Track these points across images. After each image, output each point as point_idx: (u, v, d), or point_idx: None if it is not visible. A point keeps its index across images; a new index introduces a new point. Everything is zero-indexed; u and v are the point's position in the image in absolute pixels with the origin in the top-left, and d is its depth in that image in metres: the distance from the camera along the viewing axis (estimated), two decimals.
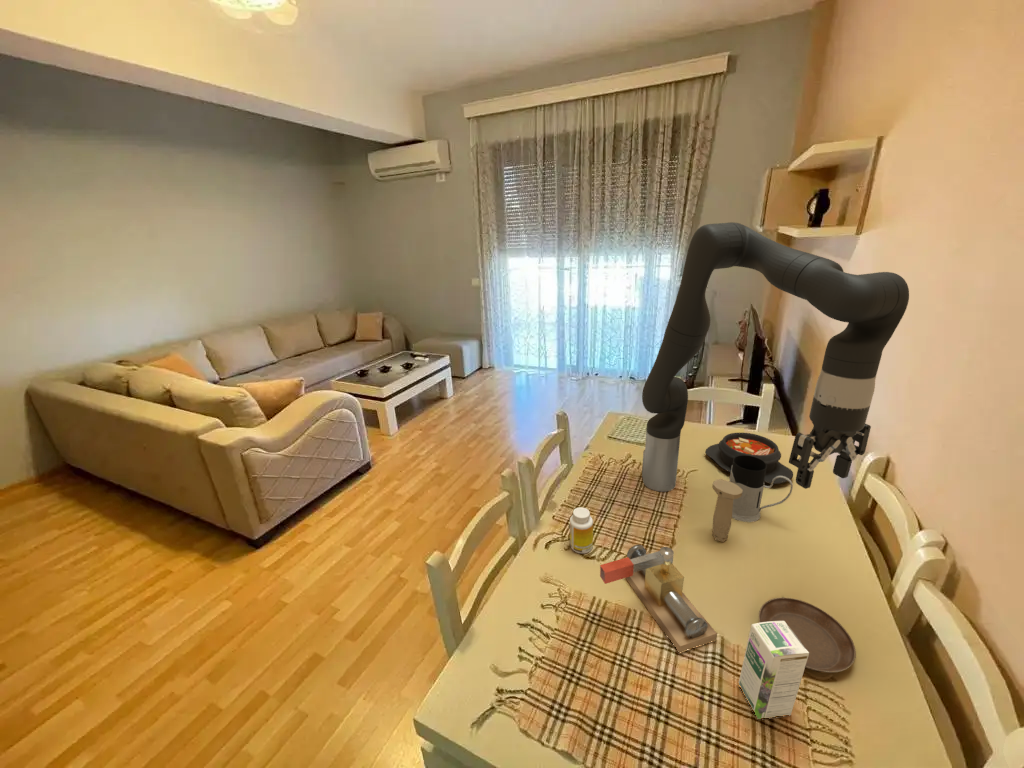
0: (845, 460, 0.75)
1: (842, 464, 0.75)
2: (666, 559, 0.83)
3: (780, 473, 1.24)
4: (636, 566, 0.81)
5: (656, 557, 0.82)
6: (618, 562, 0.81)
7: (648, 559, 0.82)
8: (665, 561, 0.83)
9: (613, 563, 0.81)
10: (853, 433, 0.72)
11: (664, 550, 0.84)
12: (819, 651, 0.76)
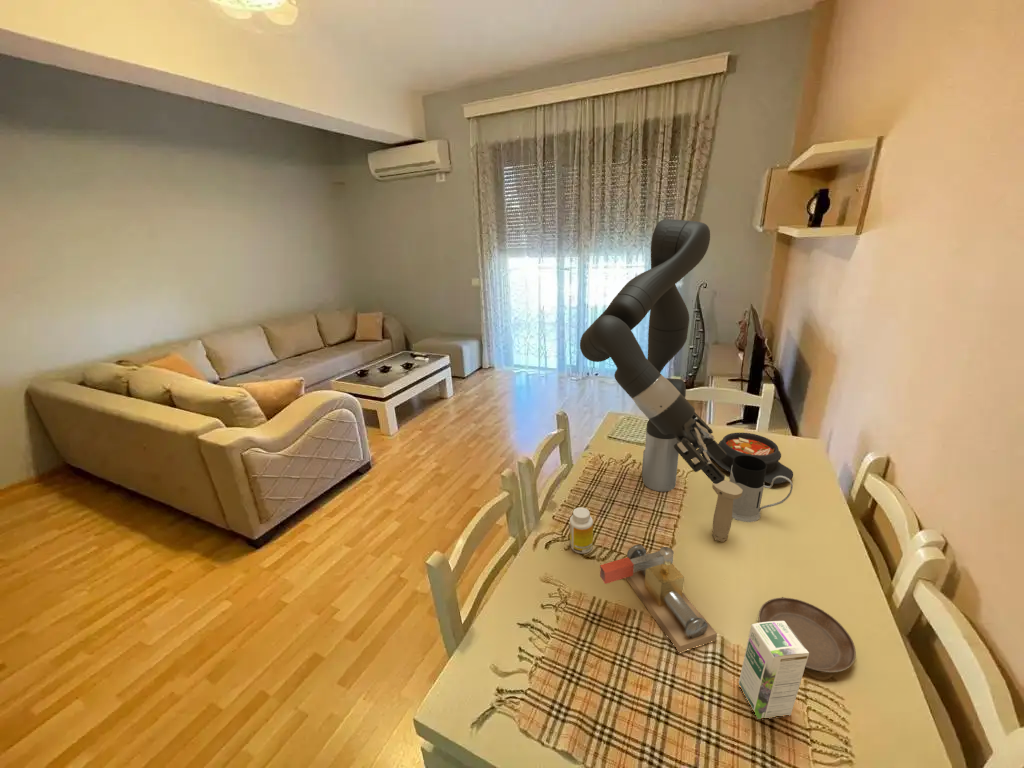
0: None
1: None
2: (666, 559, 0.83)
3: (780, 473, 1.24)
4: (636, 566, 0.81)
5: (656, 557, 0.82)
6: (618, 562, 0.81)
7: (648, 559, 0.82)
8: (665, 561, 0.83)
9: (613, 563, 0.81)
10: (679, 441, 0.77)
11: (664, 550, 0.84)
12: (819, 651, 0.76)
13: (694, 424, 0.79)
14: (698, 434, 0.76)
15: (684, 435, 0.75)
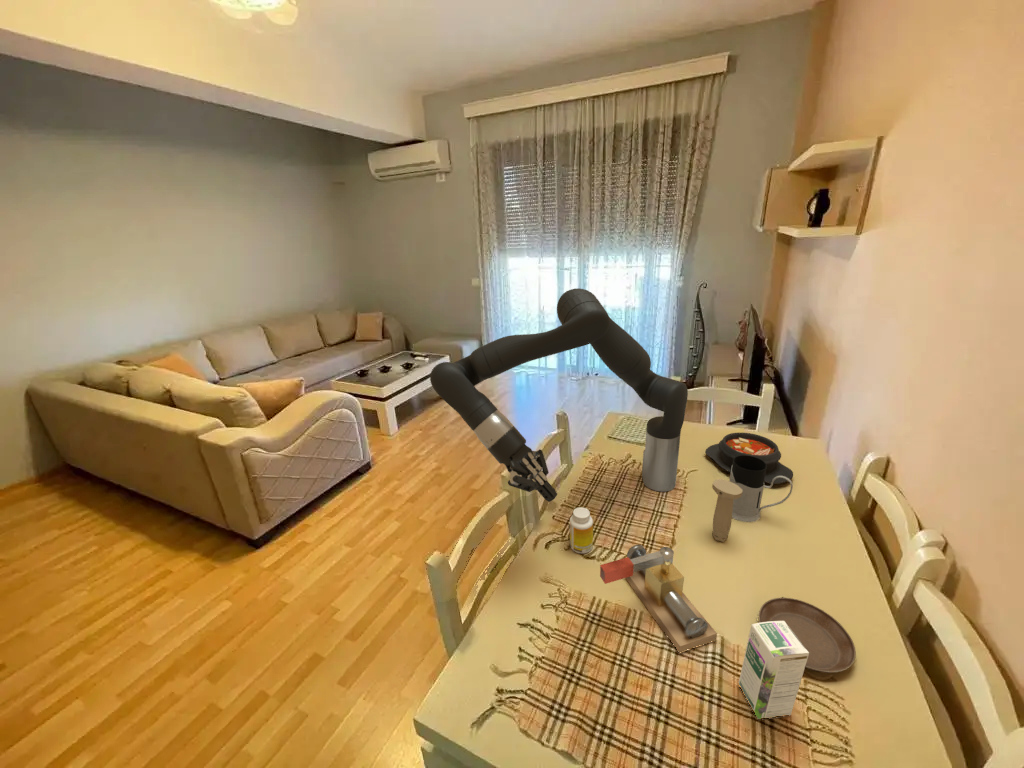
0: None
1: None
2: (666, 559, 0.83)
3: (780, 473, 1.24)
4: (636, 566, 0.81)
5: (656, 557, 0.82)
6: (618, 562, 0.81)
7: (648, 559, 0.82)
8: (665, 561, 0.83)
9: (613, 563, 0.81)
10: None
11: (664, 550, 0.84)
12: (819, 651, 0.76)
13: (527, 453, 0.90)
14: (527, 464, 0.87)
15: (513, 468, 0.86)
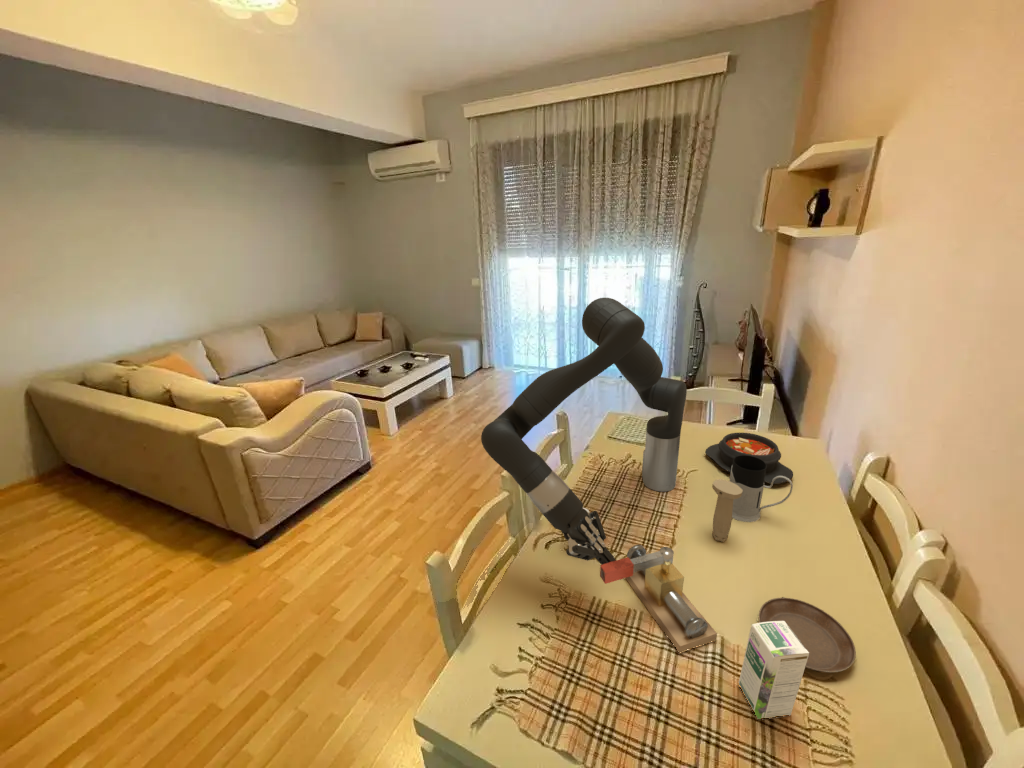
0: None
1: None
2: (666, 559, 0.83)
3: (780, 473, 1.24)
4: (636, 566, 0.81)
5: (656, 557, 0.82)
6: (618, 562, 0.81)
7: (648, 559, 0.82)
8: (665, 561, 0.83)
9: (613, 563, 0.81)
10: None
11: (664, 550, 0.84)
12: (818, 651, 0.76)
13: (584, 517, 0.84)
14: (585, 530, 0.82)
15: (571, 537, 0.80)
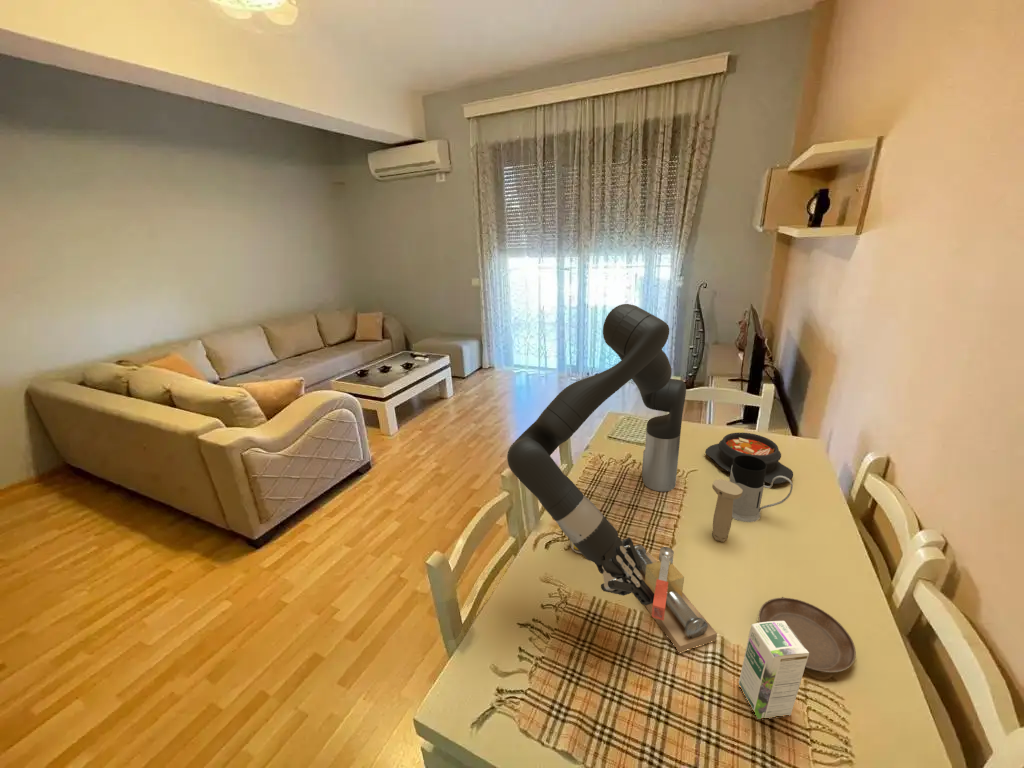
0: None
1: None
2: (671, 558, 0.83)
3: (780, 473, 1.24)
4: None
5: (668, 562, 0.81)
6: (658, 590, 0.75)
7: (667, 568, 0.80)
8: (670, 561, 0.83)
9: (657, 594, 0.74)
10: None
11: (664, 551, 0.83)
12: (818, 651, 0.76)
13: (618, 547, 0.76)
14: (621, 563, 0.74)
15: (606, 570, 0.73)
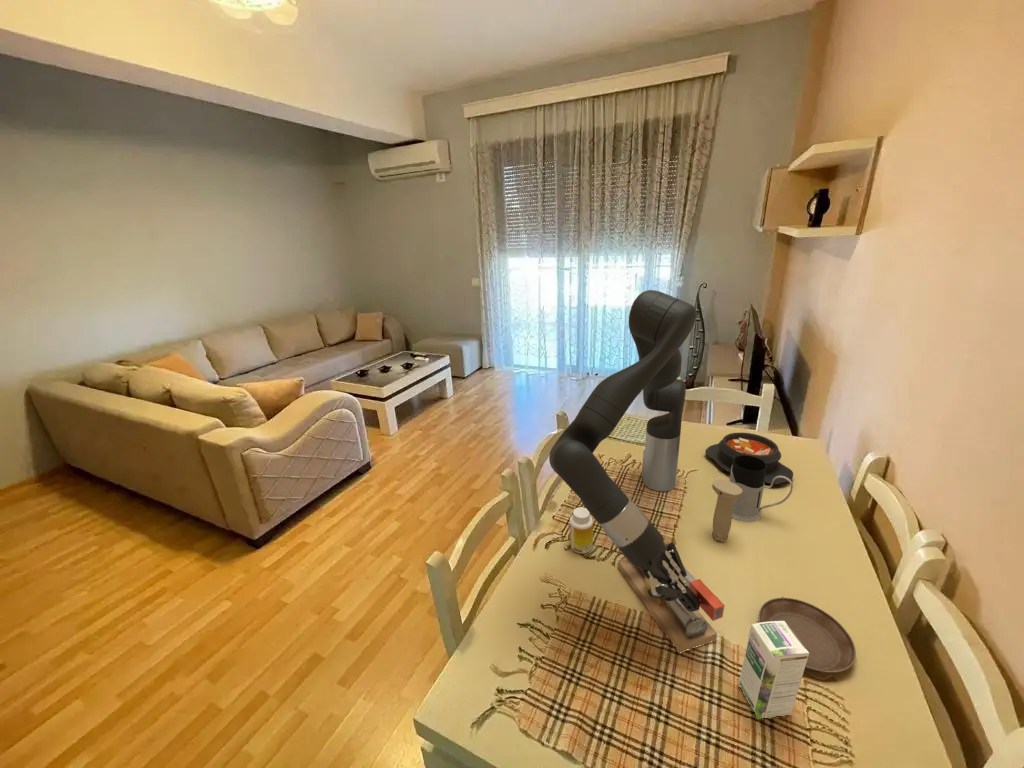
0: None
1: None
2: None
3: (780, 473, 1.24)
4: None
5: None
6: (702, 591, 0.74)
7: None
8: None
9: (706, 596, 0.73)
10: None
11: None
12: (818, 651, 0.76)
13: (663, 552, 0.75)
14: (667, 568, 0.72)
15: (653, 575, 0.71)
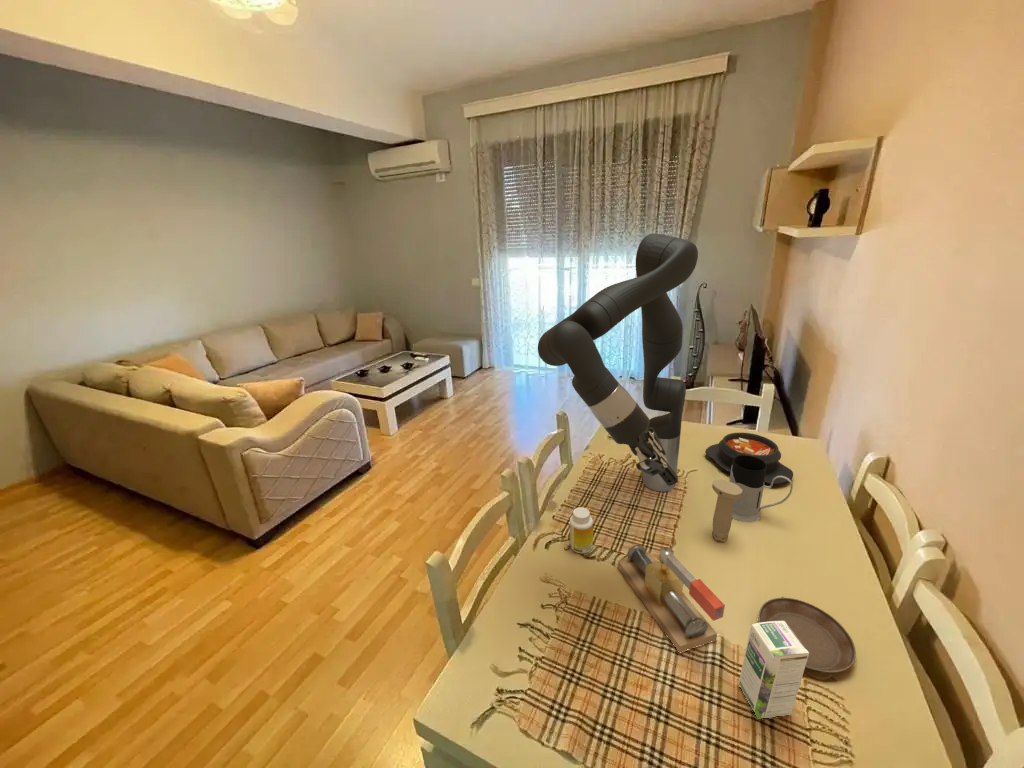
0: None
1: None
2: None
3: (780, 473, 1.24)
4: None
5: (677, 560, 0.81)
6: (702, 591, 0.74)
7: (683, 567, 0.80)
8: None
9: (706, 596, 0.73)
10: None
11: (665, 552, 0.83)
12: (818, 651, 0.76)
13: (647, 432, 0.79)
14: (652, 444, 0.77)
15: (641, 450, 0.75)
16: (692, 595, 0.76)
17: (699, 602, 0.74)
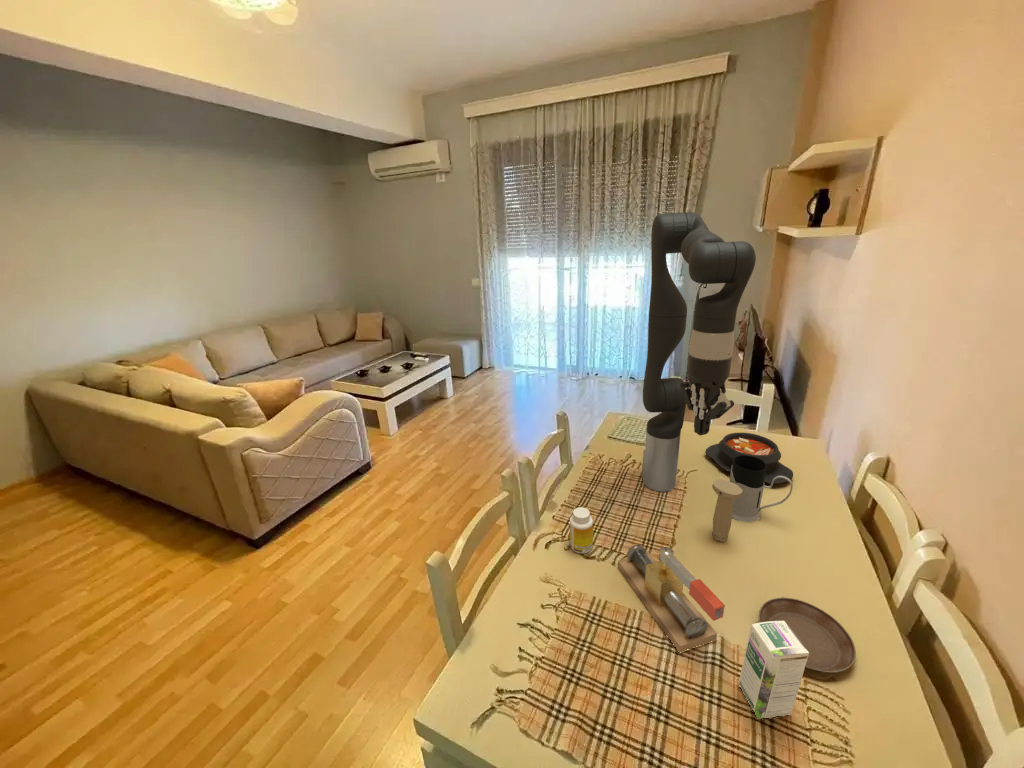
0: None
1: None
2: None
3: (780, 473, 1.24)
4: None
5: (677, 560, 0.81)
6: (702, 591, 0.74)
7: (683, 567, 0.80)
8: None
9: (706, 596, 0.73)
10: (712, 391, 0.80)
11: (665, 552, 0.83)
12: (818, 651, 0.76)
13: None
14: None
15: (724, 392, 0.79)
16: (692, 595, 0.76)
17: (699, 602, 0.74)
